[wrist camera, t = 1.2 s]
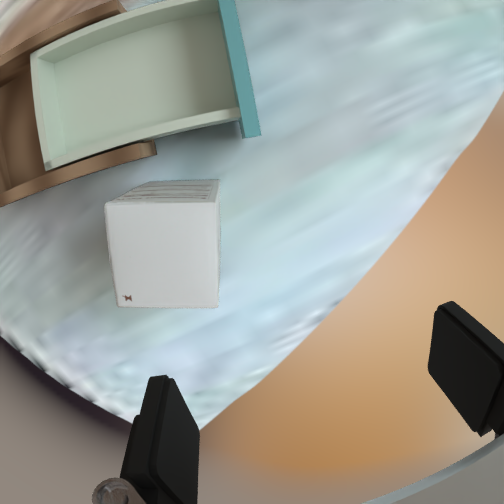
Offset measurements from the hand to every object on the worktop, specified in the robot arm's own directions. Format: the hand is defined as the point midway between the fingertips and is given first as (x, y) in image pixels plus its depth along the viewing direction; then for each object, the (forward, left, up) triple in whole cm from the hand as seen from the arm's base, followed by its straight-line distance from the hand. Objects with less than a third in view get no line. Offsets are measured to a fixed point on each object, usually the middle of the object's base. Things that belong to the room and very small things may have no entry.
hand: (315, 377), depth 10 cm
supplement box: (-2, -7, -23) cm, 24 cm away
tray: (-16, -8, -22) cm, 28 cm away
